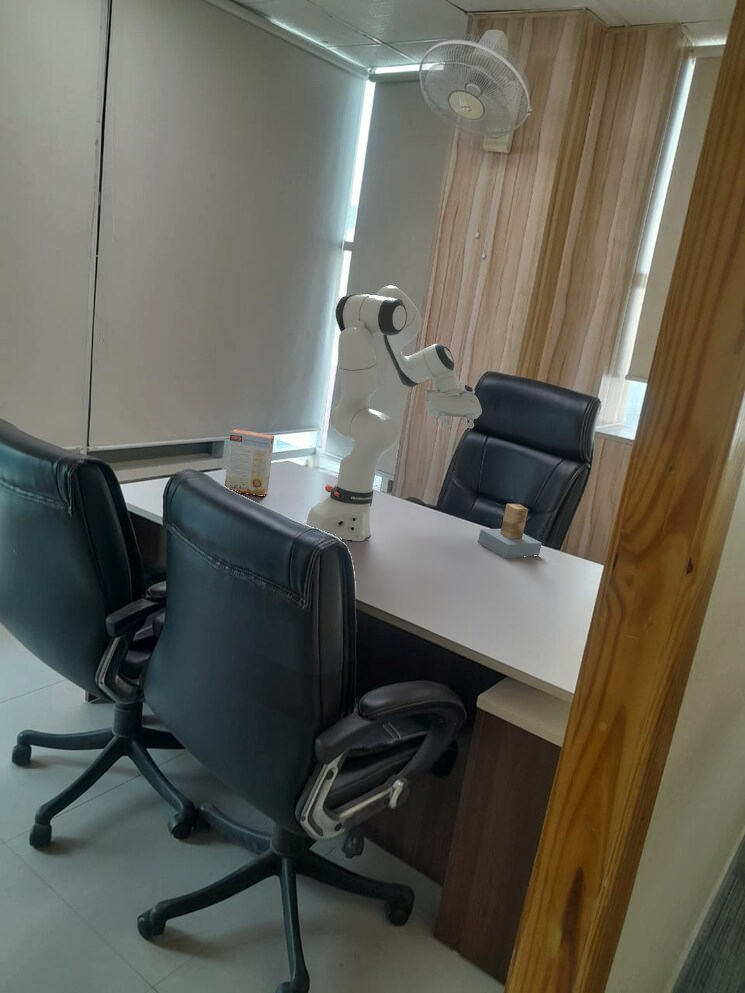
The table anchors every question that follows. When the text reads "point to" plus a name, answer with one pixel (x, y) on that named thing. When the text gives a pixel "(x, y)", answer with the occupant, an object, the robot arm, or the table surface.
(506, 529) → the oak block
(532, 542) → the grey base block
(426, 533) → the table surface
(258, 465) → the cracker box
